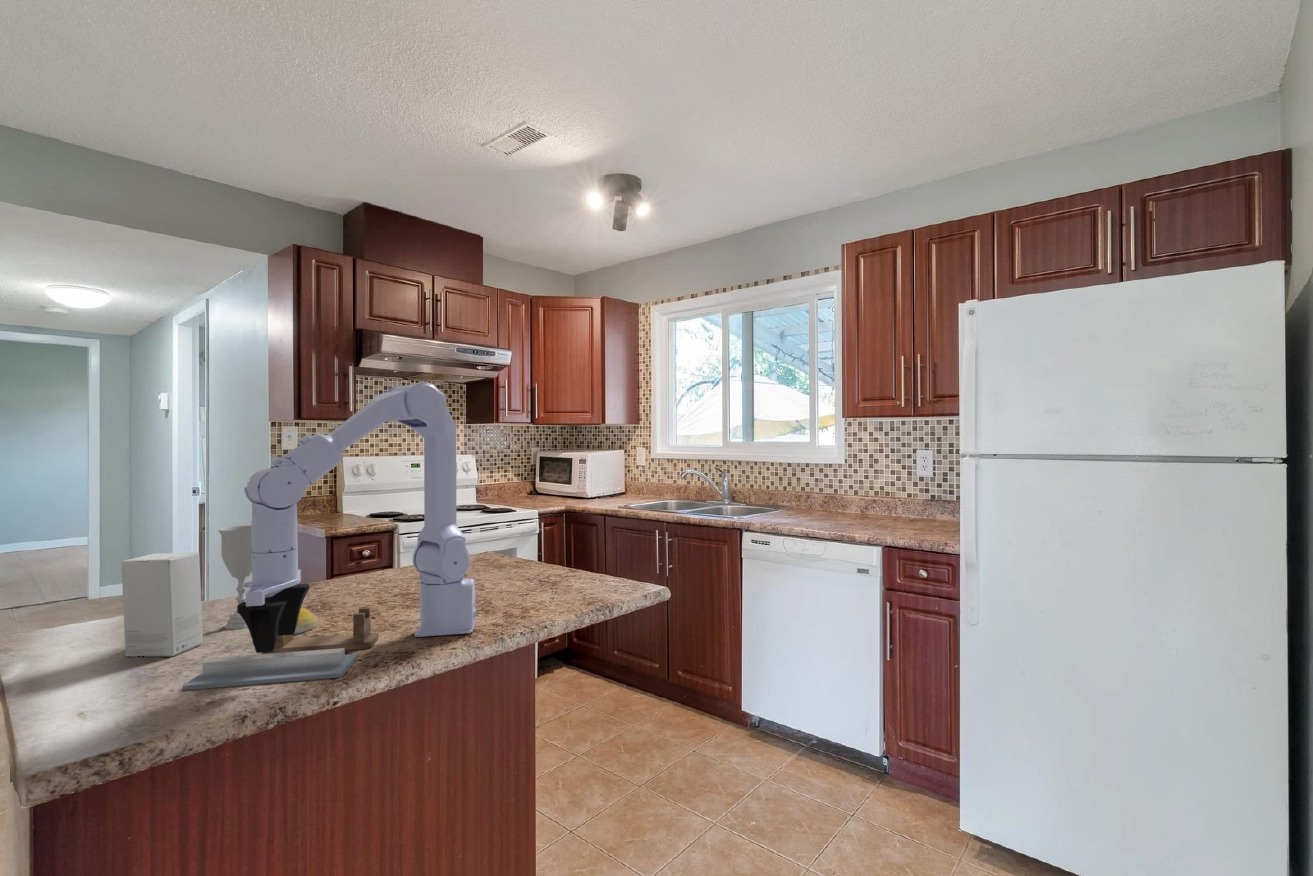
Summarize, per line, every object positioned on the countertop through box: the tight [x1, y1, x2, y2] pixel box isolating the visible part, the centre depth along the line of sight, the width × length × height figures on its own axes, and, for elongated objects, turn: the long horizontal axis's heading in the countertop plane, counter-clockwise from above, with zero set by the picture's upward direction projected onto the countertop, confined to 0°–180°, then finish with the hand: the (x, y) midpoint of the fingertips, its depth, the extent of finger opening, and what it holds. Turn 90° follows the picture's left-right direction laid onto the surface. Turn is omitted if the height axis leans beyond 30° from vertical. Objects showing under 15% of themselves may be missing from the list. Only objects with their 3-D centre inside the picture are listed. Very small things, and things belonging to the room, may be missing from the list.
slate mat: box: [182, 653, 358, 691], centre depth 89 cm, size 20×8×1 cm, turn 102°
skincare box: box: [120, 551, 204, 658], centre depth 99 cm, size 8×7×16 cm
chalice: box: [217, 525, 252, 630], centre depth 113 cm, size 7×7×18 cm
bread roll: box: [293, 606, 318, 636], centre depth 110 cm, size 8×9×4 cm
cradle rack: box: [262, 607, 380, 654], centre depth 100 cm, size 16×5×6 cm, turn 102°
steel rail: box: [202, 648, 346, 677], centre depth 89 cm, size 18×2×2 cm, turn 102°
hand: (276, 642), depth 89 cm, fingers open, 7 cm apart
